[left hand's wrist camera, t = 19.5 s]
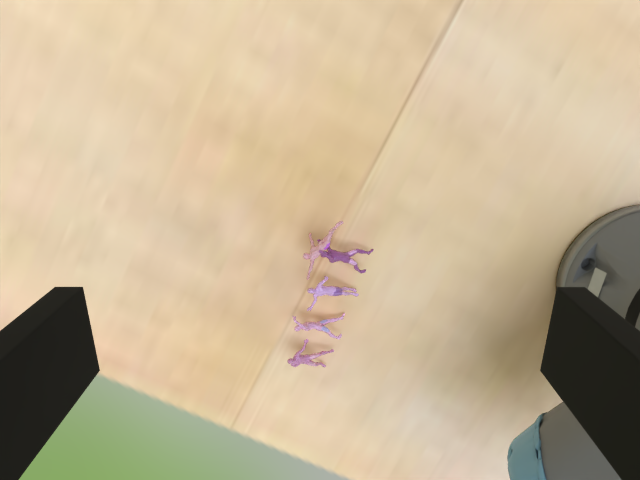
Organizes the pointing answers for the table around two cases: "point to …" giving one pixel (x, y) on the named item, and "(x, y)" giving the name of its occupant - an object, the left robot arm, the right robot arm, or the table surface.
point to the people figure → (324, 293)
